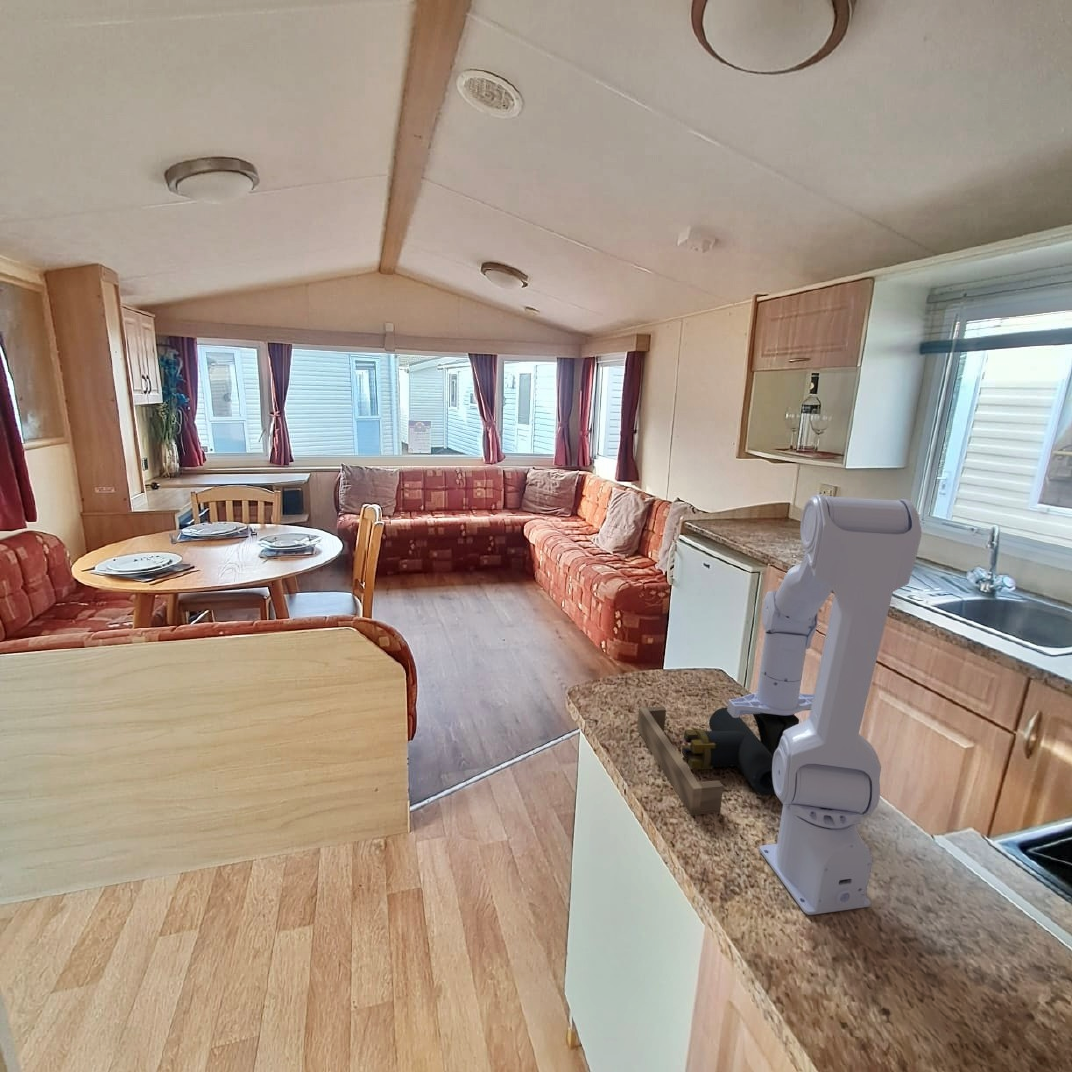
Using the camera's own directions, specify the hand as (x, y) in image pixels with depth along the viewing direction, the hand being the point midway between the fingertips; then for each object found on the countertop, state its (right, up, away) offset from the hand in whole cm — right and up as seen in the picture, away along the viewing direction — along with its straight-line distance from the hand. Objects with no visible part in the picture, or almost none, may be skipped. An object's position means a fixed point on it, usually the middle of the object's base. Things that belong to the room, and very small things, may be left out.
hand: (768, 754), depth 87 cm
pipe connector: (-7, -2, 0) cm, 7 cm away
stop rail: (-15, -1, -1) cm, 15 cm away
